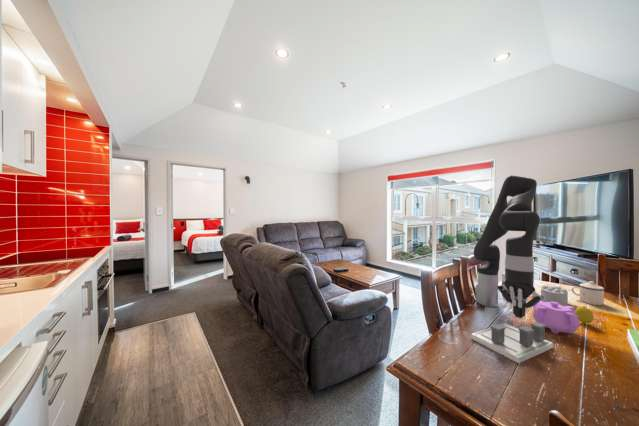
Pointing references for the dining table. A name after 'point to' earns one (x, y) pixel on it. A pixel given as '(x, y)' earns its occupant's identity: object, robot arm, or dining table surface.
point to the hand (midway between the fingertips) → (519, 316)
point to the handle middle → (526, 336)
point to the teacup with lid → (591, 293)
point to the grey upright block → (497, 334)
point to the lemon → (584, 315)
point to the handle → (538, 331)
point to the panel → (512, 344)
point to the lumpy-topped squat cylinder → (554, 294)
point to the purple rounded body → (556, 317)
